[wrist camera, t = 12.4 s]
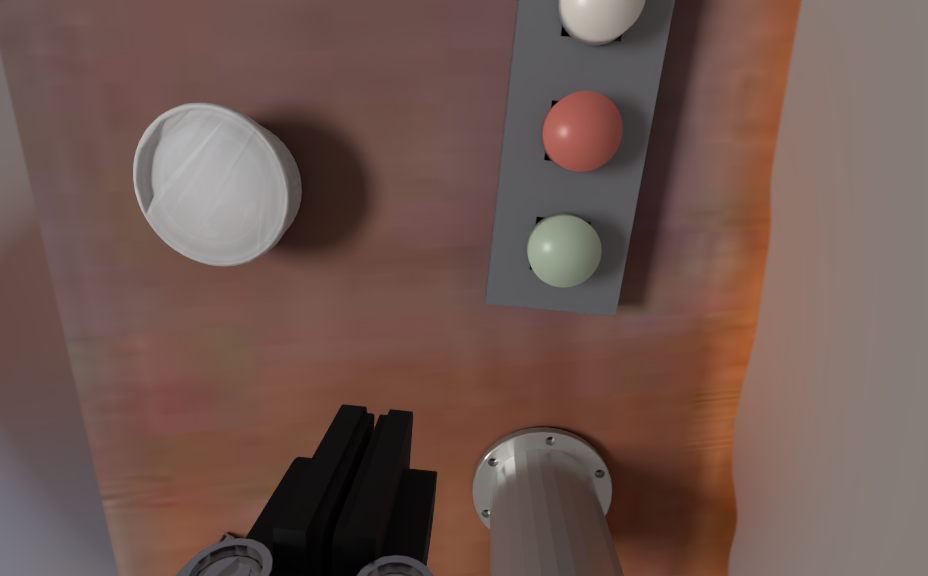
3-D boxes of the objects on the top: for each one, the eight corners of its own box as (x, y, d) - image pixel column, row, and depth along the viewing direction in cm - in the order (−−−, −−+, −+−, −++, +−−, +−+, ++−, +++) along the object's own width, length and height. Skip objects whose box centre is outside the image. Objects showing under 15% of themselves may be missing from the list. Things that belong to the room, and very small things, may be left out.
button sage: (582, 274, 39) (595, 290, 35) (519, 267, 39) (524, 283, 35) (592, 211, 38) (607, 220, 33) (527, 205, 38) (533, 213, 33)
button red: (598, 172, 37) (615, 175, 32) (532, 165, 37) (539, 168, 32) (610, 101, 36) (629, 94, 31) (541, 95, 36) (550, 87, 31)
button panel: (606, 304, 40) (615, 316, 38) (485, 292, 41) (485, 303, 38) (671, -58, 33) (689, -78, 30) (525, -71, 33) (529, -92, 31)
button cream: (617, 57, 35) (638, 42, 30) (547, 50, 35) (557, 35, 30) (630, -23, 34) (654, -51, 29) (557, -29, 34) (569, -59, 29)
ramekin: (182, 92, 37) (135, 83, 32) (325, 129, 38) (300, 125, 33) (171, 233, 41) (126, 245, 35) (303, 266, 41) (277, 282, 36)
